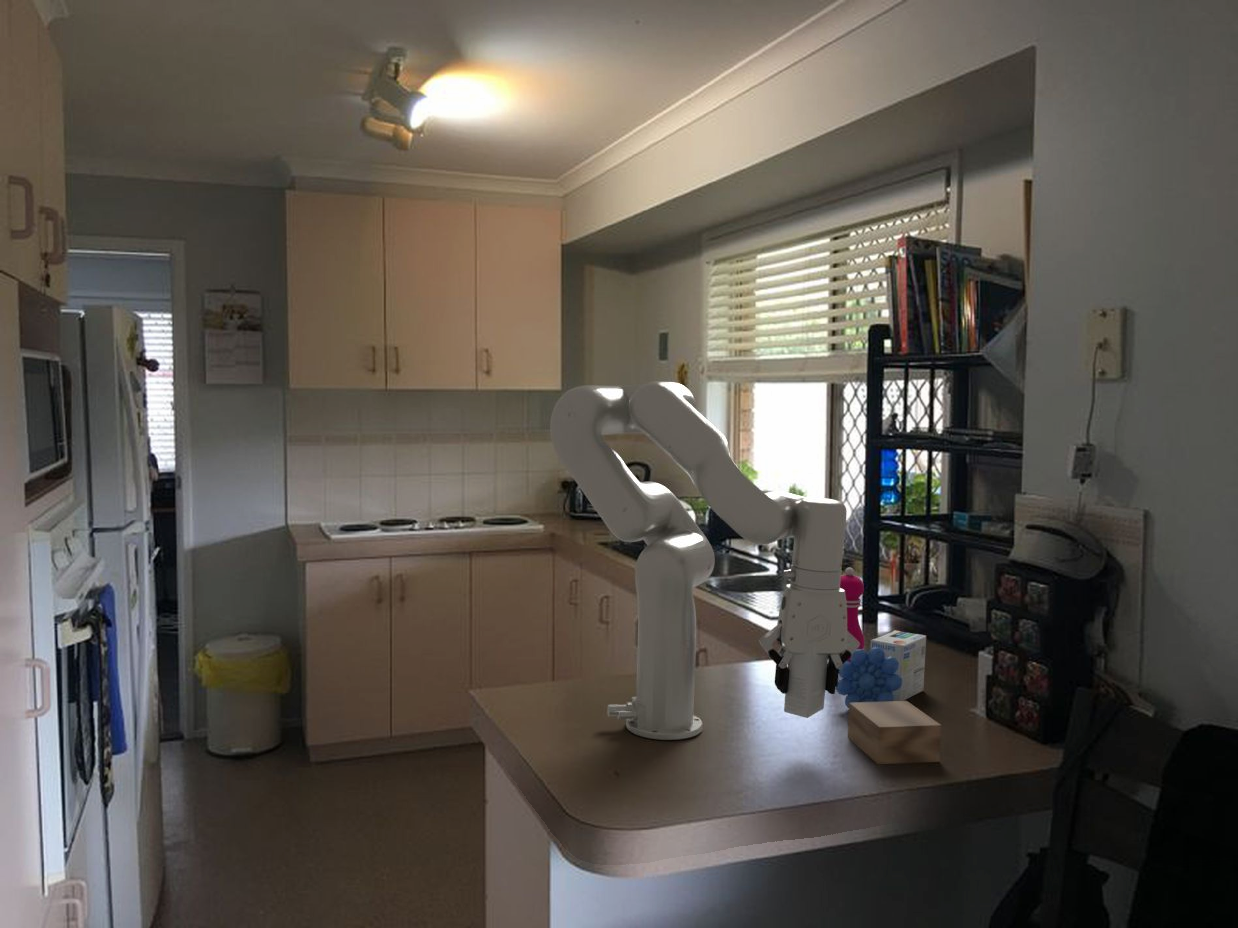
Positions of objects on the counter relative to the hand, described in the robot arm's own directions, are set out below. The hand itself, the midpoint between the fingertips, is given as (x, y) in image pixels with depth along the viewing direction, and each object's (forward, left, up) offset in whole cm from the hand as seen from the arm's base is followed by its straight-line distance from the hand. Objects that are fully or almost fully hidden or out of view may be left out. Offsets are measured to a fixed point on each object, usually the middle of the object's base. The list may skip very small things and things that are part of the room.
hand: (805, 690), depth 161 cm
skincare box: (0, 0, -3) cm, 3 cm away
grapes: (+19, +17, -10) cm, 28 cm away
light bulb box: (+29, +27, -10) cm, 41 cm away
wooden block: (+15, 0, -10) cm, 18 cm away
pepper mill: (+28, +48, -10) cm, 57 cm away
